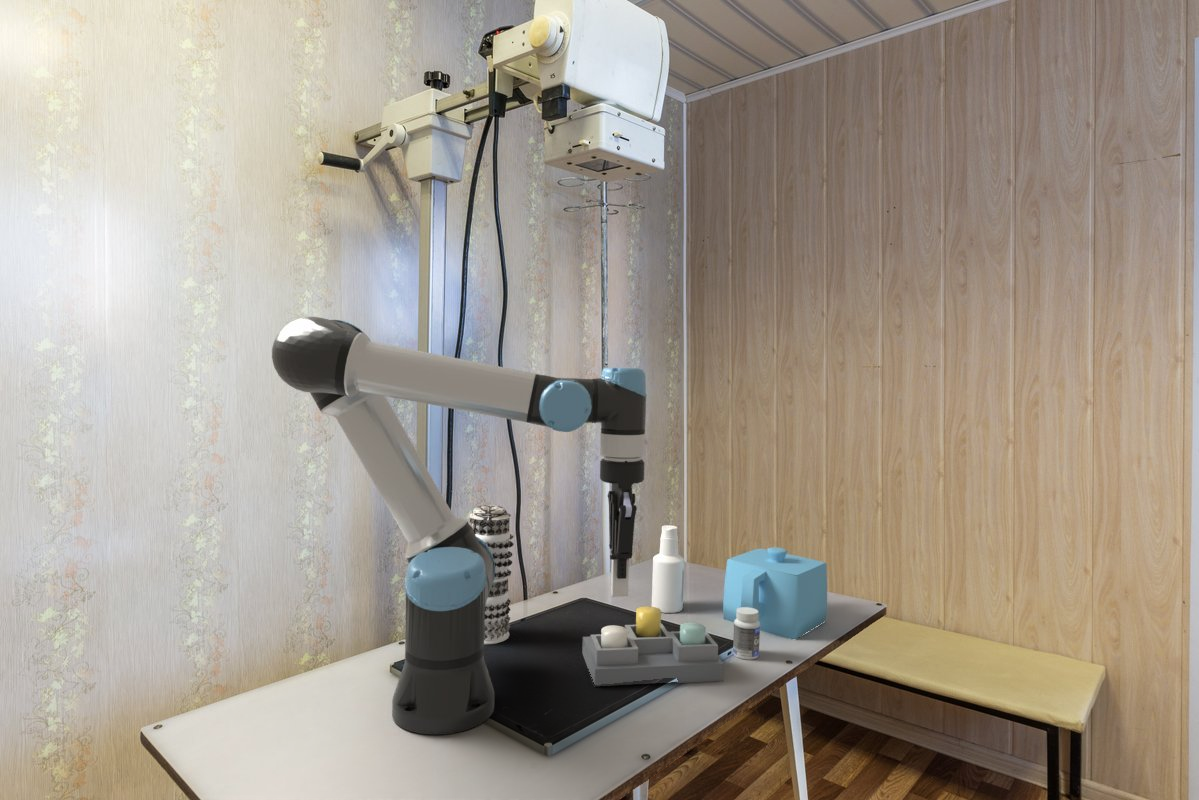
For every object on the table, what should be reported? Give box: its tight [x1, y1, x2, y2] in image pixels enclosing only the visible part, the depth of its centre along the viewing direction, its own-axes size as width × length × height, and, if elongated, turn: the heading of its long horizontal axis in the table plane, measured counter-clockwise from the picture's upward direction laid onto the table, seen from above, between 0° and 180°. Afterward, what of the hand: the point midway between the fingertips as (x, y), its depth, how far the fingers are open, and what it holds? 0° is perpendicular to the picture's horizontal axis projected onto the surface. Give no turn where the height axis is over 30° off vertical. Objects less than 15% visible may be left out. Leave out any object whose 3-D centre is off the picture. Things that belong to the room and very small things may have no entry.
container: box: [722, 546, 828, 640], centre depth 151 cm, size 17×25×15 cm
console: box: [581, 623, 725, 685], centre depth 126 cm, size 22×14×6 cm, turn 100°
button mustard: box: [635, 605, 662, 637], centre depth 128 cm, size 4×4×4 cm
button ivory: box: [600, 624, 627, 648], centre depth 123 cm, size 4×4×4 cm
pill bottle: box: [732, 607, 761, 660], centre depth 132 cm, size 5×5×8 cm
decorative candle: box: [467, 504, 514, 645], centre depth 138 cm, size 9×9×25 cm
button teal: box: [679, 622, 707, 645], centre depth 125 cm, size 4×4×4 cm
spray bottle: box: [651, 524, 685, 614], centre depth 156 cm, size 7×7×18 cm
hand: (619, 594), depth 123 cm, fingers closed
